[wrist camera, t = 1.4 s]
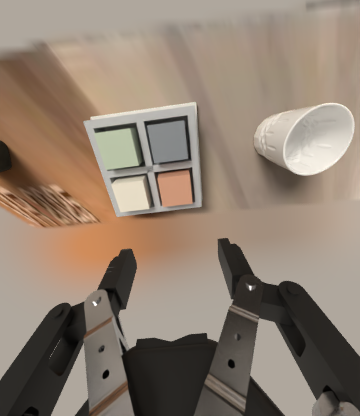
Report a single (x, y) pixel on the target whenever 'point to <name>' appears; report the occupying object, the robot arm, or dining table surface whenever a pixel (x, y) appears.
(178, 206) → the keypad
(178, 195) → the key terracotta
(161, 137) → the key slate
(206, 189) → the dining table surface
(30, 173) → the dining table surface
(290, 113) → the white cup
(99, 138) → the key sage
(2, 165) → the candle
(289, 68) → the dining table surface
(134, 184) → the key cream
